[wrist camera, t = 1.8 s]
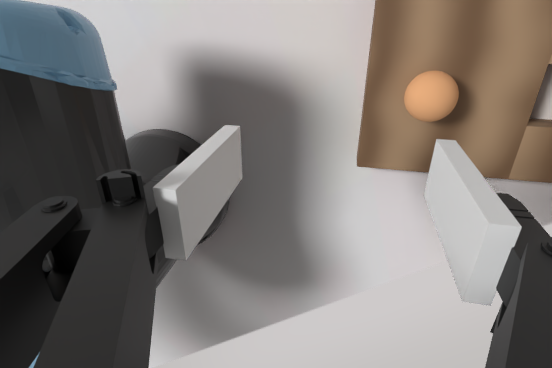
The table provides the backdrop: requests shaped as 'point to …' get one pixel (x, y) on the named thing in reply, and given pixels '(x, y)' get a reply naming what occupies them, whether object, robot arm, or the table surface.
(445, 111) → the ball
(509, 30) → the wooden board
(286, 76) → the table surface
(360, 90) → the table surface
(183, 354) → the table surface
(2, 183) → the robot arm
